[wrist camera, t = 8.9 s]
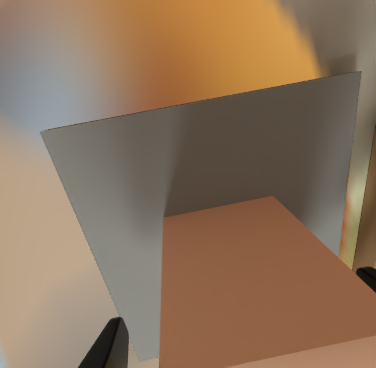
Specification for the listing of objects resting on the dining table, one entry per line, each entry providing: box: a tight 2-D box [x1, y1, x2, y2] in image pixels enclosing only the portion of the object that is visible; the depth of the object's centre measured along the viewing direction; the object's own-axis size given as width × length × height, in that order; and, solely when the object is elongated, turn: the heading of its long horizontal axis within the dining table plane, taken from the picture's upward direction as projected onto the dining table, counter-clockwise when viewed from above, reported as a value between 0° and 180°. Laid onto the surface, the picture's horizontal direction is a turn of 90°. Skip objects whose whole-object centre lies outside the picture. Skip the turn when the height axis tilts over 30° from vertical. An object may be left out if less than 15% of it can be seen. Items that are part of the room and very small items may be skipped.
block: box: [159, 196, 376, 368], centre depth 8 cm, size 5×5×6 cm
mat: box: [40, 71, 361, 362], centre depth 11 cm, size 14×12×1 cm
